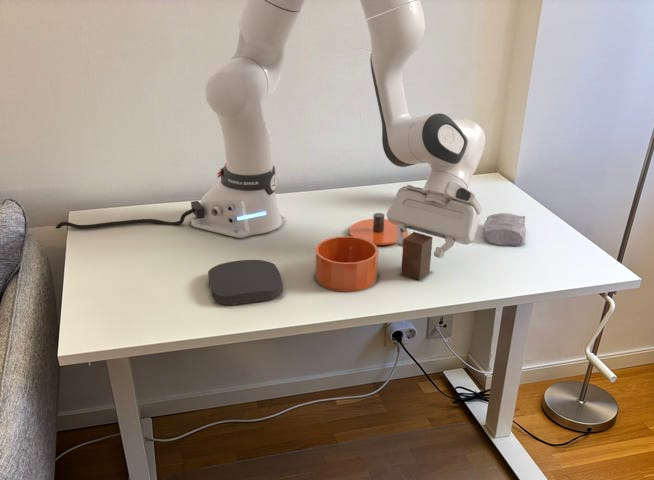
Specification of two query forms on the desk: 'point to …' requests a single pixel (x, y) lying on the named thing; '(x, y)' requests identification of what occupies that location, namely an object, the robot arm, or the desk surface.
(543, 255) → the desk surface
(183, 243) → the desk surface
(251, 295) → the media streaming box
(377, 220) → the pan lid
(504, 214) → the stone block
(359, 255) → the pan
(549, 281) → the desk surface
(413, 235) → the block
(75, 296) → the desk surface
